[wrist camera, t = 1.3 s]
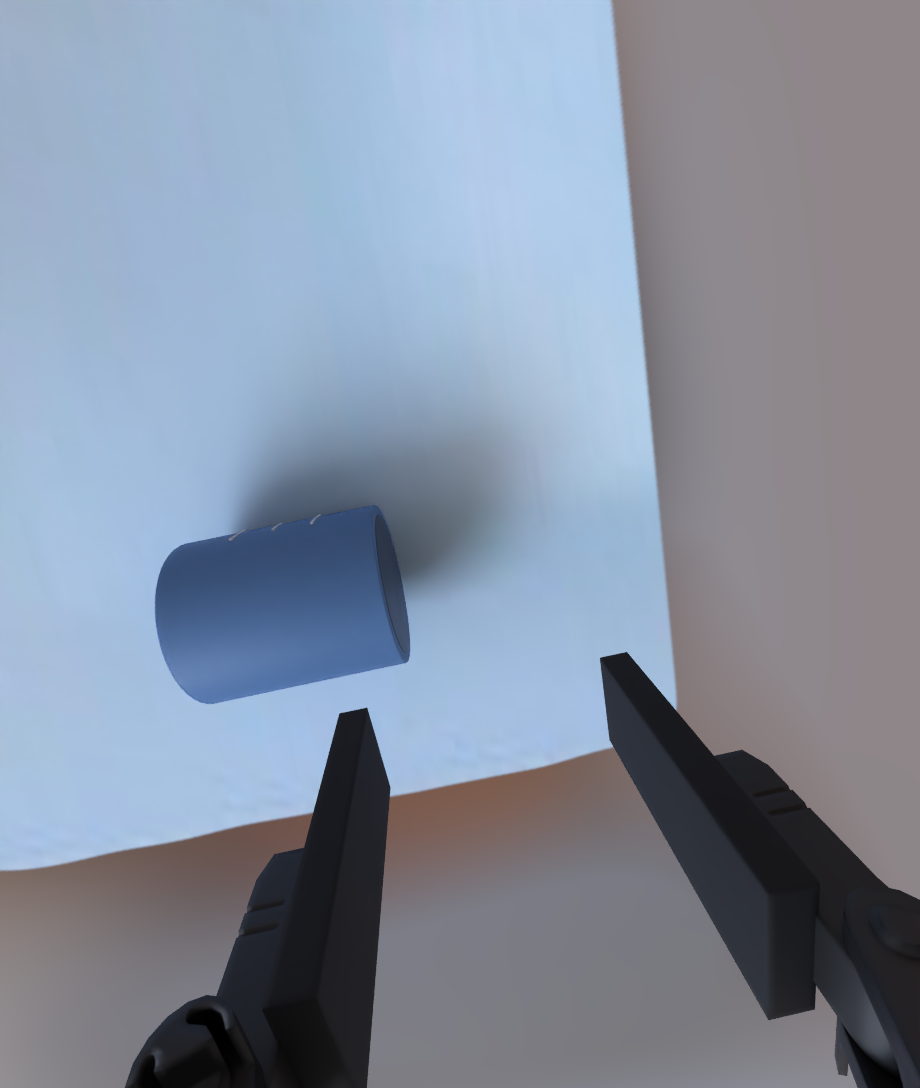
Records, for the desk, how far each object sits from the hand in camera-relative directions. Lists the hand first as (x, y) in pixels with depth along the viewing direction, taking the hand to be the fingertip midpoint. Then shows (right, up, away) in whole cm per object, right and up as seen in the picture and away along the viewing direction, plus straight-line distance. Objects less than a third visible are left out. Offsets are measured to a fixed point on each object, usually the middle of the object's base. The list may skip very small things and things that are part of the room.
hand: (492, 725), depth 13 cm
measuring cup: (-10, +3, +16) cm, 19 cm away
